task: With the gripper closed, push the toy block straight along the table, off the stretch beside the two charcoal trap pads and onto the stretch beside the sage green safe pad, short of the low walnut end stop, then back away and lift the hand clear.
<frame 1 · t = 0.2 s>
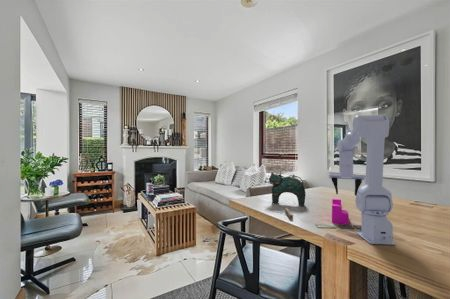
hand: (346, 194, 104), 10 cm above the table, tool pointing down, fingers open, 7 cm apart
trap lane: (326, 218, 100), on the table
toy block: (339, 219, 100), on the table
ceramic cat: (287, 204, 126), on the table
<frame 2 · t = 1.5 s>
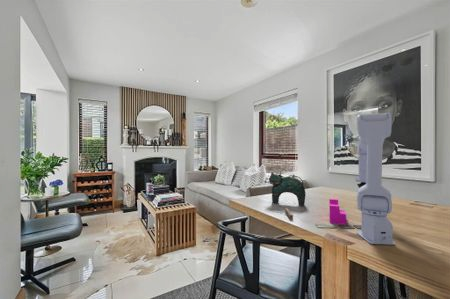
hand: (366, 199, 99), 9 cm above the table, tool pointing down, fingers closed
toy block: (337, 219, 100), on the table
everything else where it was.
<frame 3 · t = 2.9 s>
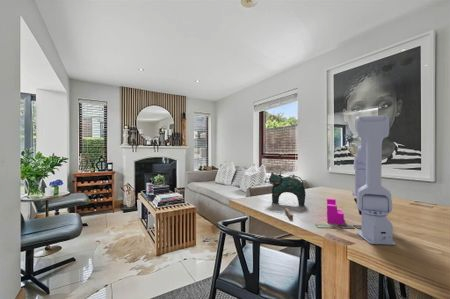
hand: (362, 214, 99), 2 cm above the table, tool pointing down, fingers closed
toy block: (334, 219, 100), on the table
everything else where it was.
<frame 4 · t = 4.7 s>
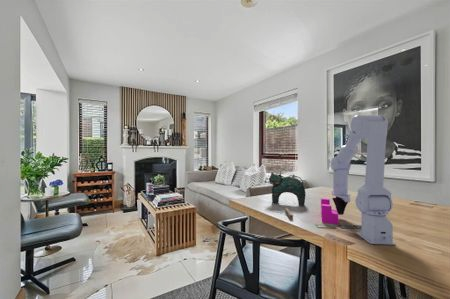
hand: (340, 214, 100), 2 cm above the table, tool pointing down, fingers closed
toy block: (329, 219, 100), on the table
everything else where it was.
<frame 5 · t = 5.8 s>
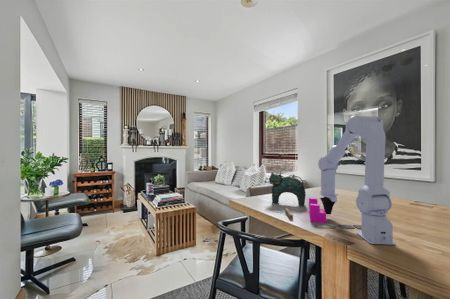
hand: (328, 213, 100), 2 cm above the table, tool pointing down, fingers closed
toy block: (316, 218, 101), on the table, touching gripper
everything else where it was.
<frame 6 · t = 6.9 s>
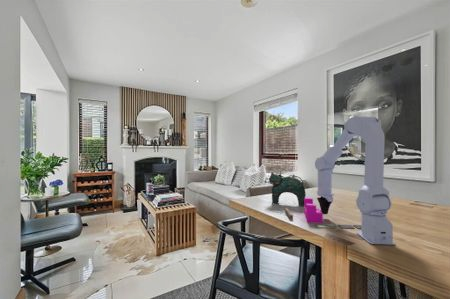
hand: (324, 213, 100), 2 cm above the table, tool pointing down, fingers closed
toy block: (312, 218, 102), on the table
everything else where it was.
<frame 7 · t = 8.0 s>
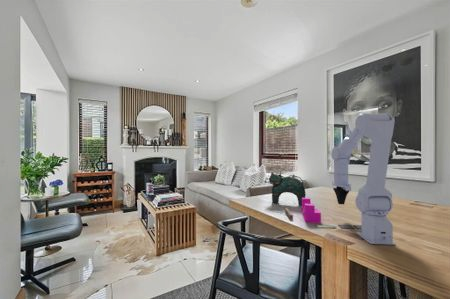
hand: (341, 204, 100), 7 cm above the table, tool pointing down, fingers closed
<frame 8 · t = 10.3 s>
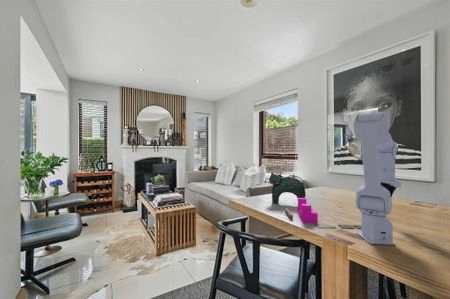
hand: (386, 201, 92), 9 cm above the table, tool pointing down, fingers closed
toy block: (306, 218, 101), on the table
everything else where it was.
at the end: toy block inside the target area (3.2 cm from its centre), on the table; toy block tilted 0° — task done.
